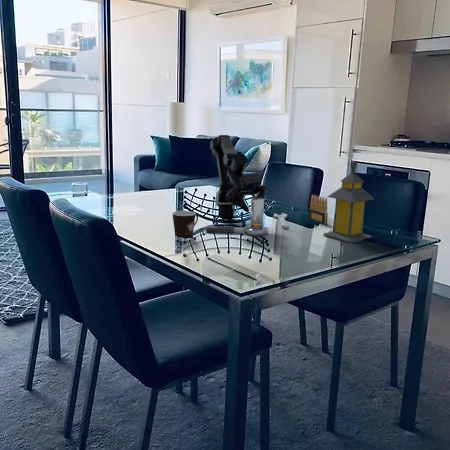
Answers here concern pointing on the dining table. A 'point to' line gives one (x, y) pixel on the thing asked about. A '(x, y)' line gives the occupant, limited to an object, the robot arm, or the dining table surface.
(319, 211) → the ammunition clip
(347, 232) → the lantern
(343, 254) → the dining table surface
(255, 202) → the socket
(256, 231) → the ratchet
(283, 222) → the adjustable wrench
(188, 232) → the coffee mug
